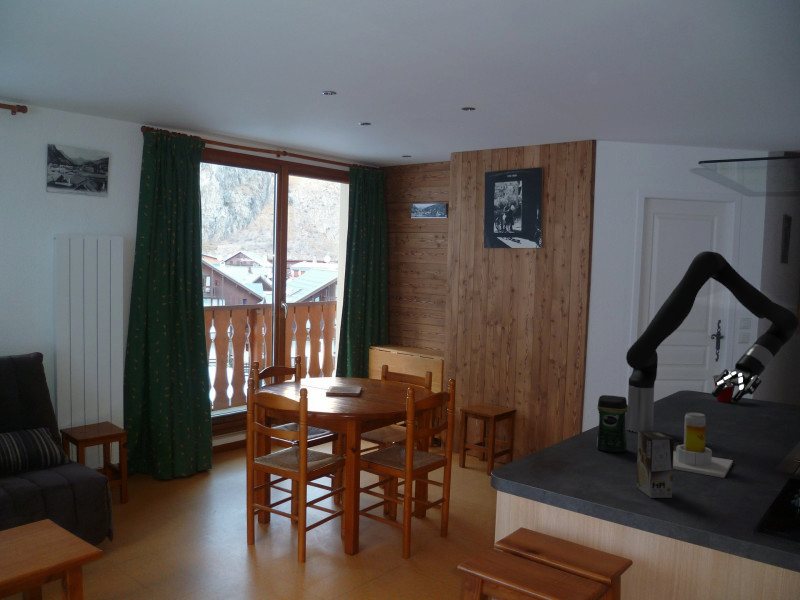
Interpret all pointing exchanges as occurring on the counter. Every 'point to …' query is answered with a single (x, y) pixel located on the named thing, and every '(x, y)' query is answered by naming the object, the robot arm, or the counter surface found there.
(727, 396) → the plastic cup
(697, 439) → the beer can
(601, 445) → the coffee jar
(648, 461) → the coffee box
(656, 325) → the robot arm
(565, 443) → the counter surface
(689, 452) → the base
